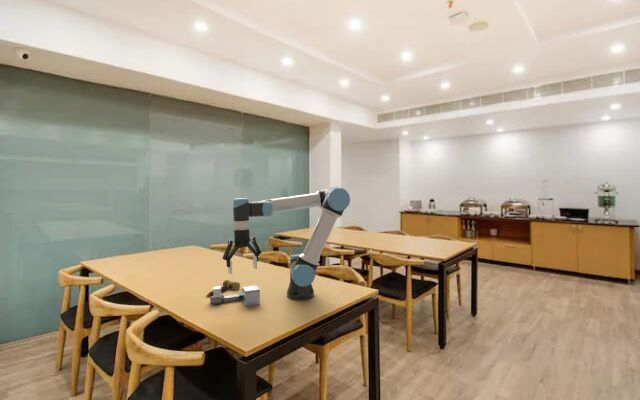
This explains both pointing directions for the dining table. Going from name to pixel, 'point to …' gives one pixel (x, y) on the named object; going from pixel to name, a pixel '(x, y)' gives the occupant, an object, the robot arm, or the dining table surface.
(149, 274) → the dining table surface
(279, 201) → the robot arm
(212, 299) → the ratchet
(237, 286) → the gavel
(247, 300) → the brushed metal cube
